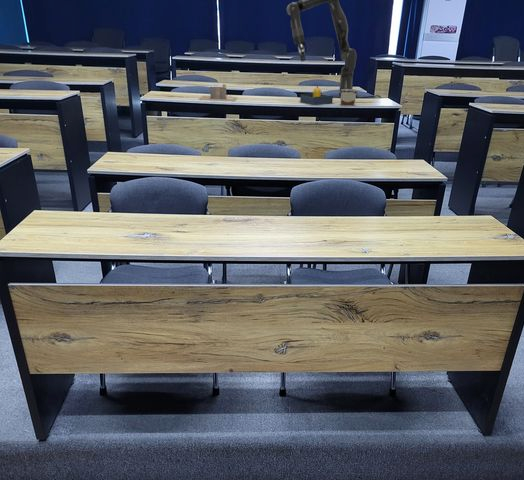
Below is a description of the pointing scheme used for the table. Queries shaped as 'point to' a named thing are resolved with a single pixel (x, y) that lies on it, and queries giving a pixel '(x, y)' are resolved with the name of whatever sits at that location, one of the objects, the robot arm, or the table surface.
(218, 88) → the ruin model on sheet
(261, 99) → the table surface
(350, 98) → the food container
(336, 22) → the robot arm
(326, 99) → the crate
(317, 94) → the pepper
